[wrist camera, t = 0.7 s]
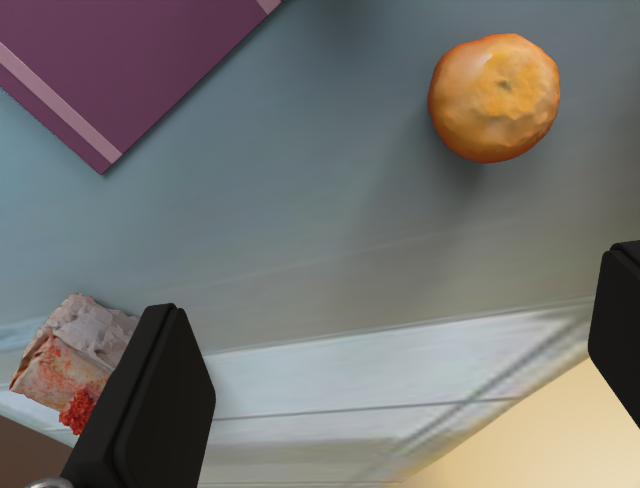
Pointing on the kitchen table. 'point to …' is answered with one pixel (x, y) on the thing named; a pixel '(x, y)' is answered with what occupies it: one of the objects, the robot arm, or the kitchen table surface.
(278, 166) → the kitchen table surface
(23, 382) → the food item
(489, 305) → the kitchen table surface
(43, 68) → the towel
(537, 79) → the fruit
